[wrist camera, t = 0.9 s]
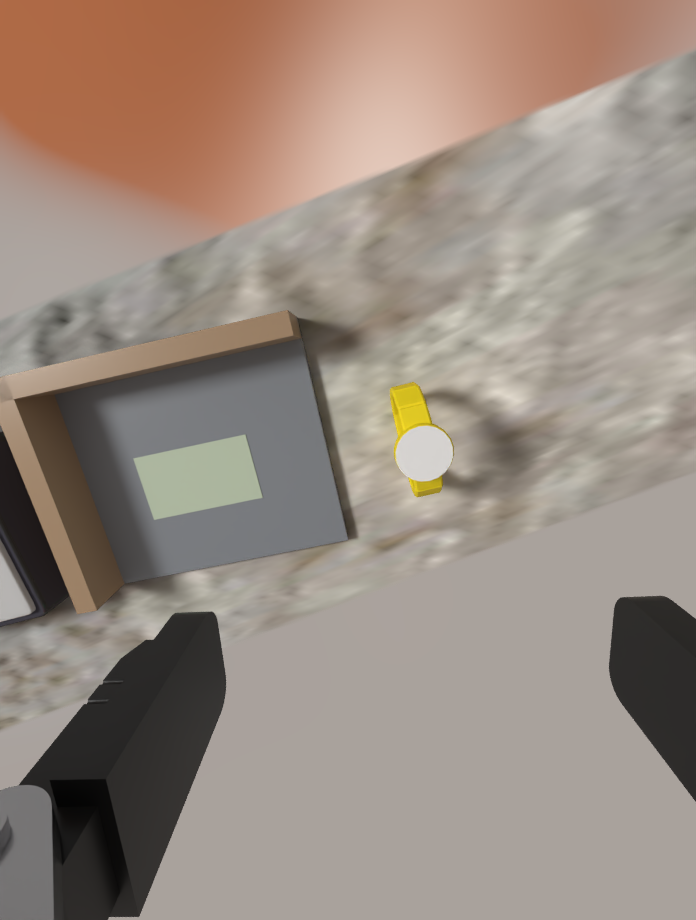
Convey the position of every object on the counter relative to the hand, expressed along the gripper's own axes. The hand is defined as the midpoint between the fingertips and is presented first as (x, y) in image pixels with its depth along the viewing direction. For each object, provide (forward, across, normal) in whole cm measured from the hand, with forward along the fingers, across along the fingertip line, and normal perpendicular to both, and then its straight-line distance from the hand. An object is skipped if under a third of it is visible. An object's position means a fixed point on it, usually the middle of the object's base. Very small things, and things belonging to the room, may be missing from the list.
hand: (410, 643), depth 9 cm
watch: (+18, -2, -1) cm, 18 cm away
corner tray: (+17, +11, 0) cm, 21 cm away
